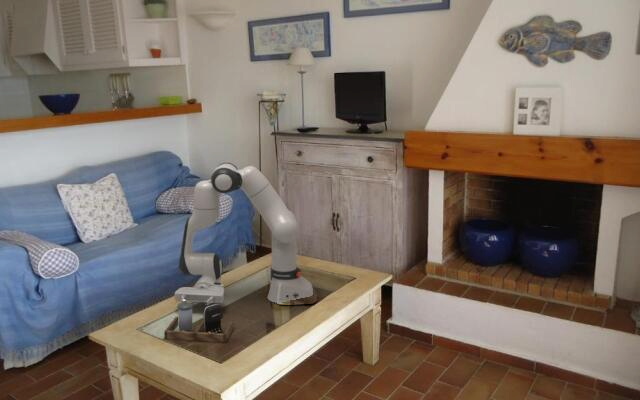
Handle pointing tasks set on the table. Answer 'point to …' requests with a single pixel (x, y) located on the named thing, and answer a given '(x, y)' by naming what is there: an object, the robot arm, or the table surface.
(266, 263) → the table surface
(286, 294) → the robot arm
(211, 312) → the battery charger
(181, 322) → the canister
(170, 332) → the dock
